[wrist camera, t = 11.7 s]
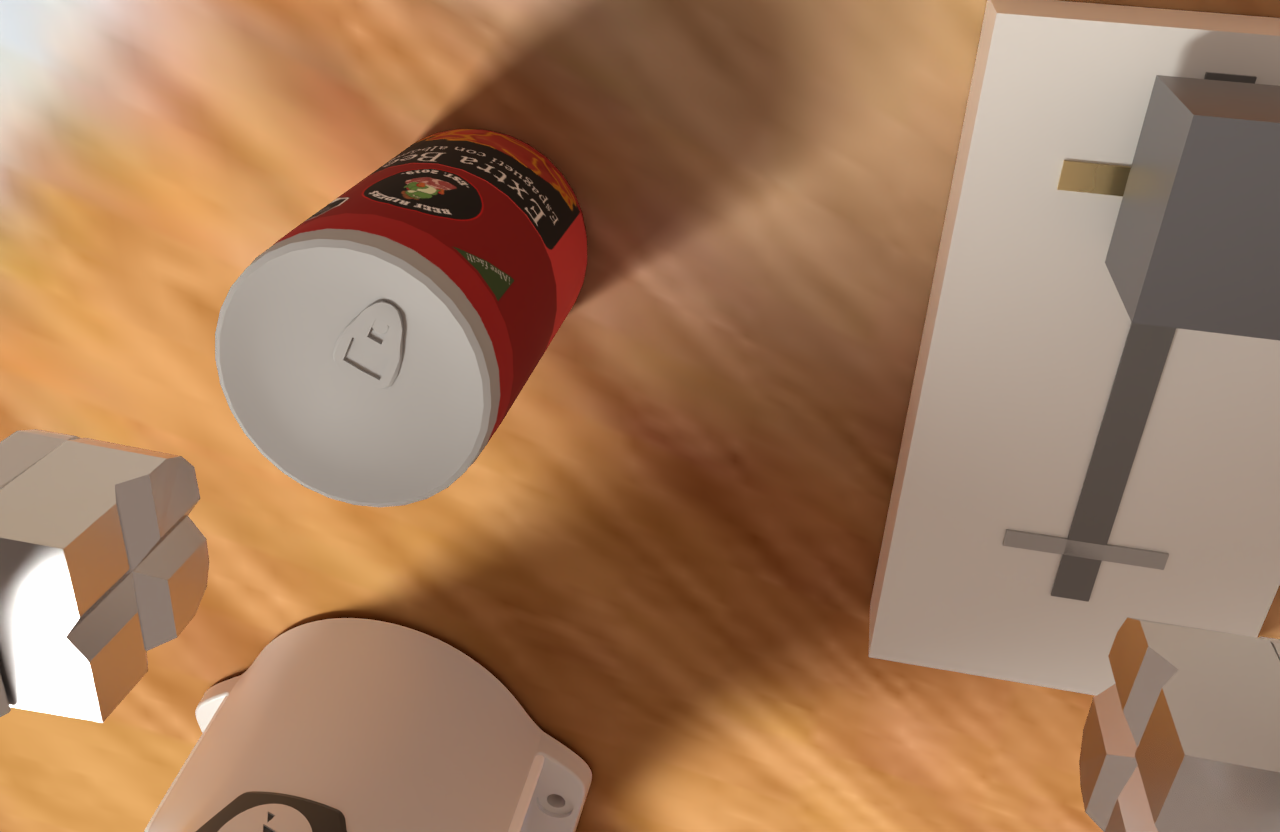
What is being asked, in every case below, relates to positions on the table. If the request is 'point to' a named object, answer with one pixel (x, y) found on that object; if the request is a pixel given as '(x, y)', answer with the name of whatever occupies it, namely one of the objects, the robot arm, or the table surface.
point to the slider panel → (1073, 378)
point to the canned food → (403, 318)
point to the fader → (1203, 211)
